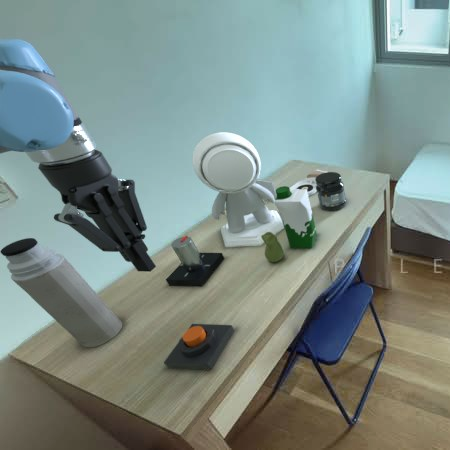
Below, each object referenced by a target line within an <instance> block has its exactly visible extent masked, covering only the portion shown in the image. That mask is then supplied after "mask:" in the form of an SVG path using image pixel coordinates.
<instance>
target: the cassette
mask: <svg viewBox="0 0 450 450" xmlns="http://www.w3.org/2000/svg"><path fill="white" fill-rule="evenodd" d="M255 183H256V184H259V185H261V186H262V187H264V188H266V189H267V190H269V191H270V192H271V193H272V194H273V196H274V199H275V200H276V197H277V194H276V189H277V188H276V186H275V183H274V181H268V180H265V179H259V178H258V179H257V180H256V182H255ZM256 194H257V193H256ZM257 195H258V194H257ZM258 196H259V197H260V198H262V197H261V196H260V195H258Z"/></svg>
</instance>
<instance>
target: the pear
mask: <svg viewBox="0 0 450 450" xmlns="http://www.w3.org/2000/svg"><path fill="white" fill-rule="evenodd" d="M261 237H262V239H263V241H264V242H265V243H264V244H265V249H264V257H265V259H266V260H267V261H268V262H271V263H276V262H279V261H280V260H282V259H283V257H284V250H283V246H282V244H281V243H280V242H279V240H278V238H277V236H276V235H274V234H272V232H266V233H265V234H264V235H262V236H261Z"/></svg>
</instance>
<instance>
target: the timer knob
mask: <svg viewBox="0 0 450 450" xmlns="http://www.w3.org/2000/svg"><path fill="white" fill-rule="evenodd" d="M170 245H171V248H172V249H173V251H174V253H175V255H177V258H178V259H179V261H180V264H181V263H182V264H183V266H184V268H185V269H186V270H187V271H194V270H197V269H199V268H200V267H202V266H203V264H204V261H203V259H202V257H201V255H200V253H199V252H200V251H199V250H198V248H197V246H196V243H194V241H193V239H192V237H191V236H188V235H184V236H181V237H178V238H176V239H174V240H173V241H172V242H171V244H170Z"/></svg>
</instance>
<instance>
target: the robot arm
mask: <svg viewBox="0 0 450 450" xmlns="http://www.w3.org/2000/svg"><path fill="white" fill-rule="evenodd" d="M97 147H98V144H97V143H96V141H95V140H94V138H93V137H92V135H91V134H90V132H89V130H88V128H87V127H86V126H85V124H84V123H83V121H82V119H81V118H80V116H79V115H78V113H77V111H76V110H75V108H74V106H73V104H72V103H71V102H70V100H69V98H68V97H67V95H66V93H65V92H64V90H63V88H62V87H61V85H60V84H59V82H58V81H57V78H56V75H55V73H54V72H53V71H52V70H51V69H50V68H49V66H48V65H47V63H46V61H45V60H44V59H43V57H42V56H41V55H40V54H39V52H38V51H37V50H36V48H35V47H34V46H33V45H32V44H31V43H29V42H27V41H25V40H23V39H20V38H0V154H4V153H8V152H12V151H13V152H18V153H25V154H26V155H27V156H28V158H29V159H30V160H31V161H32V162H34V163H37V164H38V167H37V169H38V170H39V171H40V173H41V174H42V175H43V177H45V179H46V180H47V181H48V183H49V184H50V186H51V187H53V188H54V189H55V190H56V191H58V192H59V194H60V197H61V198H60V199H61V202H62V204H64V206H63V208H62V211H61V213H59V212H58V213H55V214H54V215H53V219H54V221H55V222H59V223H62V224H64V225H67V226H69V227H70V228H72V229H73V230H74V231H75V232H77V233H78V234H80V235H81V236H82V237H83V238H85V239H86V240H87V241H88V242H90V243H91V244H92V245H94V246H95V247H97V248H98V249H99V250H101V251H102V252H107V253H108V252H109V253H111V252H112V253H119V254H120V256H121V257H122V258H123V259H124V260H125V262H128V263H131V264H132V265H133V266H134V268H135V269H136V271H137V272H149V273H150V272H153V270H154V269H155V268H156V267H157V266H156V263H154V261H153V260H152V257H151V256H150V255H149V253H148V251H149V248H148V246H147V245H146V243H145V241H144V240H145V239H146V234H143V232H145V231H147V229H148V226H147V223H146V221H145V219H144V215H143V212H142V209H141V206H140V204H139V201H138V197H137V194H136V182H135V181H134V179H119V178H118V177H117V176H116V175H114V174H113V173H112V172H113V169H112V167H111V165H110V164H109V162H108V160H107V159H106V157H105V155H104V154H103V153H102V152H101V151H100V150H98V149H97ZM80 211H81V212H83V213H81V212H80ZM84 214H85V216H87V217H88V218H90V219H91V220H92V221H93V222H94V223H95V224H94V223H93V222H92V221H90V220H89V219H88V218H85V217H84Z"/></svg>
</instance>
